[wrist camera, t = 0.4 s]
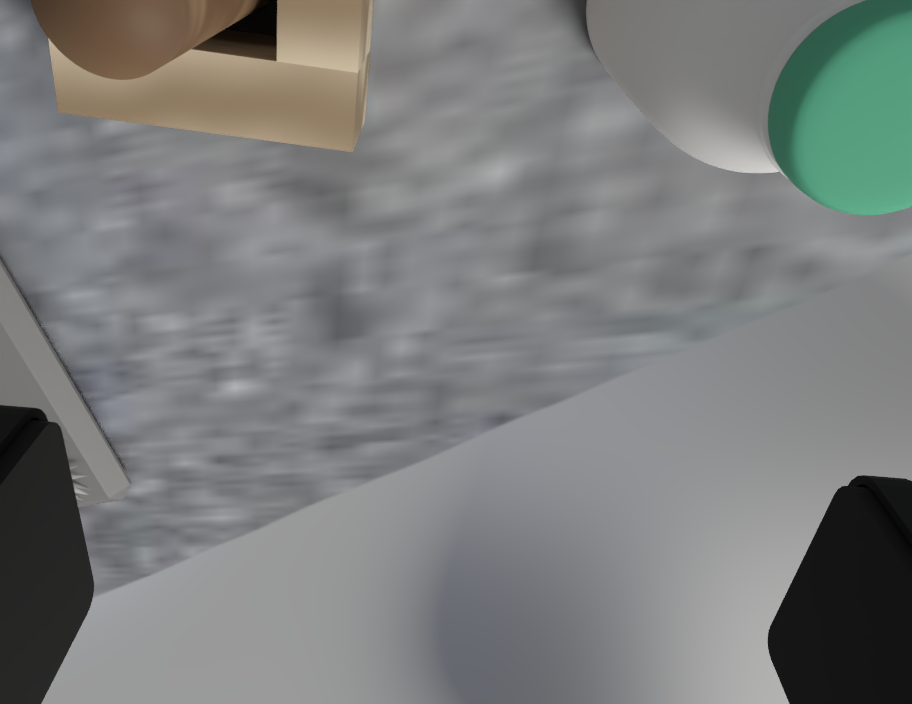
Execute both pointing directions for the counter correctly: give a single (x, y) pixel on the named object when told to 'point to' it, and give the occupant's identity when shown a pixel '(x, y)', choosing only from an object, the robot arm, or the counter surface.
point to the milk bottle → (774, 88)
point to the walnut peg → (134, 30)
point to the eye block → (248, 81)
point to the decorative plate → (54, 399)
